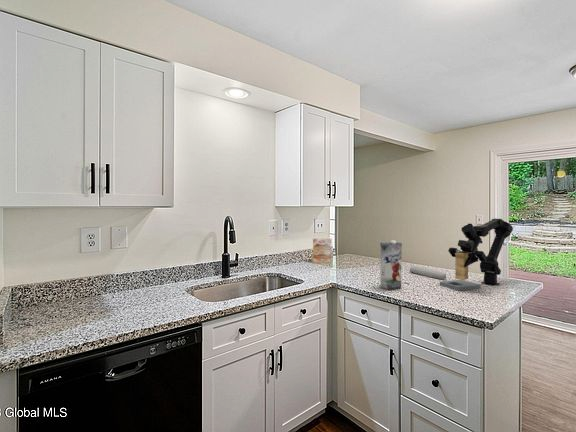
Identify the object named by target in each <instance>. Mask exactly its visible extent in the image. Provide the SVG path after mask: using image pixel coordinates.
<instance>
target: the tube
mask: <svg viewBox="0 0 576 432" xmlns="http://www.w3.org/2000/svg"><path fill="white" fill-rule="evenodd" d="M409 272H410V273H411V274H416V275H420V276H425V277H429V278H432V279H433V278H434V279H437V280H442V281H445V280H446V279H447V274H446V272H443V271H438V270H436V269H435V270H434V269H430V268H425V267H420V266H416V265H411V266H410V267H409Z"/></svg>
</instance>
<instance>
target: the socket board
mask: <svg viewBox="0 0 576 432" xmlns="http://www.w3.org/2000/svg"><path fill="white" fill-rule="evenodd" d="M439 286H442V287H444V288H447V289H451V290H453V291H456V292H461V291H471V290H476V289H477V290H478V289H479V290H480V289H481V288H482V285H481V284H479V283H476V282H472V281H468V280H461V279H454V280H442V281H439Z"/></svg>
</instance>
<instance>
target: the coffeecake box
mask: <svg viewBox="0 0 576 432" xmlns="http://www.w3.org/2000/svg"><path fill="white" fill-rule="evenodd" d="M332 243H333V242H332V238H322V237H321V238H318V237H317V238H313V239H312V263H314V264H315V263H316V264H317V263H318V264H332V251H333V250H332V247H333V246H332Z"/></svg>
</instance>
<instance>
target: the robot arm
mask: <svg viewBox="0 0 576 432" xmlns="http://www.w3.org/2000/svg"><path fill="white" fill-rule="evenodd" d="M460 229H461V232H462V233H463V235H464V237H465V238H466V239H467V240H465V239H464V240H462V239H459V240H458V242H457V246H458V247H459V248H460V249H458V247H452V246H451V247H449V248H448V251H447V252H448V254H450V256H451V257H452V258H455V253H459V252H462V253H468V259H467V261H466V262H465V265H464V267H467V266H468V267H469V266H471V265H472V264H474V263H477V262H480V263H479V267H480V269H479V270H480V272H481V273H483V274H484V275H483V281H481V283H482V284H486V285H488V286H489V285H490V286H495V285H500V283H499V282H498V276H500V275H501V272H502V270H501V268H500V266H499V261H498V258H499V255H500V253H501V250H502V247H503V245H504V242H505V240H506V239H507V238H508V237H510V236H511V234H512V232H513V230H514V227H513V225H512V224H511V223H509V222H507V221H505V220H504V219H502V218H492V219H490V220H489V221H487V222H485V223H483V224H481V225H480V224H479V225H478V224H477V225H473V224H472V223H467V224H466V225H463V226H462V227H461V228H460ZM493 230H494V234H495V237H494V239H493V242H492V243H491V247H490V249H489V252H488V253H487V255H486V254H485V252H484V251H482V250H479V249H478V246H479V245H480V244H483V240H482V238H485V237H487V236H488V235H489V234H490V231H493ZM481 237H482V238H481Z"/></svg>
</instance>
